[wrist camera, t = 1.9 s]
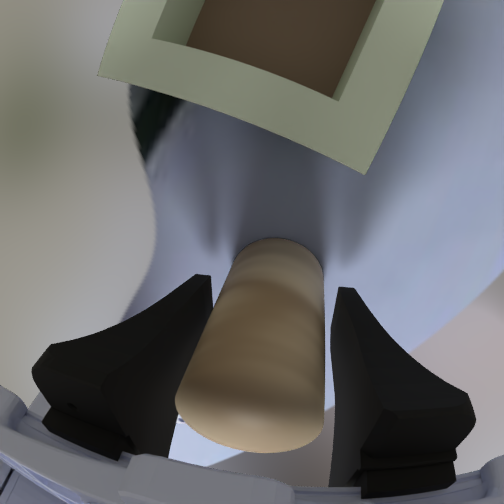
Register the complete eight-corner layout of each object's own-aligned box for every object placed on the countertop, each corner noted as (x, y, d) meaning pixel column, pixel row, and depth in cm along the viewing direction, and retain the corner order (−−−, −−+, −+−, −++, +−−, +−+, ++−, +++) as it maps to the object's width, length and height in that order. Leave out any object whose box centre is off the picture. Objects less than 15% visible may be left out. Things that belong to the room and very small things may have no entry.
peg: (253, 324, 15) (217, 454, 9) (215, 254, 14) (147, 380, 7) (334, 304, 14) (338, 445, 8) (305, 225, 12) (296, 360, 6)
